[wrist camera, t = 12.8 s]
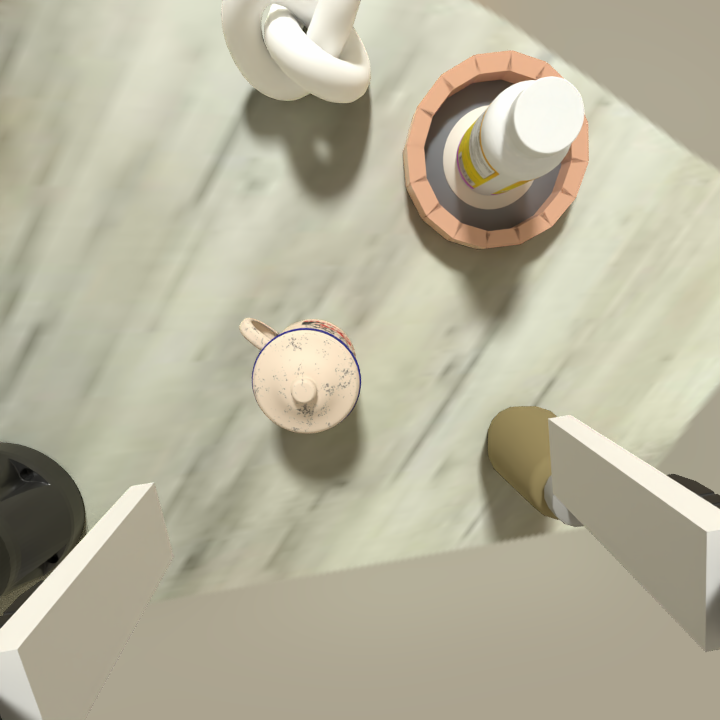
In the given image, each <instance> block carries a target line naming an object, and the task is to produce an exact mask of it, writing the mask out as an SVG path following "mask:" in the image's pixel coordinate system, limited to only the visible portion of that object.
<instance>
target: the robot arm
mask: <svg viewBox="0 0 720 720" xmlns="http://www.w3.org/2000/svg"><path fill="white" fill-rule="evenodd" d="M548 426H549V441H550V457H551V472H552V488H553V494H554V495H555V496H556V497H557V498H558V499H559V500H560V502H561V503H562V504H563V505H564V506H565V507H566V508H567V509H568V510H569V511H570V512H571V513H572V514H573V515H574V516H575V517H576V518H577V519H578V520H579V521H580V522H581V523H582V524H583V525H584V526H585V527H586V529H587V530H588V531H589V532H590V533H591V534H592V535H593V536H594V537H595V538H596V539H597V540H598V541H599V542H600V543H601V544H602V545H603V546H604V547H605V548H606V549H607V550H608V551H609V552H610V553H611V554H612V556H614V557H615V559H616V560H617V561H618V562H619V563H620V564H621V565H622V566H623V567H624V568H625V569H626V570H627V571H628V572H629V573H630V574H631V575H632V576H633V577H634V578H635V579H636V580H637V581H638V583H639V584H640V585H641V586H643V588H644V589H645V590H646V591H647V592H648V593H649V594H650V595H651V596H652V597H653V598H654V599H655V600H656V601H657V602H658V603H659V604H660V605H661V606H662V607H663V608H664V609H665V611H666V612H667V613H668V614H669V615H670V616H671V617H672V618H673V619H674V620H675V621H676V622H677V623H678V624H679V625H680V626H681V627H682V628H683V629H684V630H685V631H686V632H687V633H688V634H689V636H690V637H691V638H692V639H693V640H694V641H695V642H696V643H697V644H698V645H699V646H700V647H701V648H702V649H703V650H704V651H705V652H707V651H713V650H719V649H720V495H718V494H714V492H713V491H712V490H710V489H708V488H707V487H705V486H703V485H701V484H700V483H698V482H696V481H694V480H690V479H688V478H685V477H682V476H679V475H676V474H671V475H665V474H663V473H662V472H660V471H658V470H657V469H655V468H654V467H652V466H651V465H649V464H647V463H646V462H644V461H643V460H641V459H639V458H638V457H636V456H635V455H633V454H632V453H630V452H628V451H627V450H625V449H624V448H622V447H620V446H619V445H617V444H616V443H614V442H613V441H611V440H609V439H608V438H606V437H605V436H603V435H601V434H600V433H598V432H597V431H595V430H594V429H592V428H590V427H589V426H587V425H586V424H584V423H582V422H581V421H579V420H578V419H576V418H574V417H573V416H571V415H567V416H561V417H555V418H549V419H548ZM83 525H84V508H83V503H82V499H81V496H80V493H79V491H78V489H77V487H76V485H75V483H74V482H73V480H72V479H71V477H70V476H69V475H68V474H67V472H66V471H65V470H64V469H63V468H62V467H61V466H60V465H58V464H57V463H56V462H55V461H53V460H52V459H51V458H49V457H48V456H46V455H44V454H43V453H41V452H39V451H36V450H34V449H32V448H29V447H26V446H22V445H18V444H12V443H0V598H1V597H3V596H5V595H7V594H9V593H11V592H13V591H15V590H17V589H19V588H21V587H23V586H25V585H27V584H29V583H31V582H33V581H35V580H37V579H39V578H41V577H42V576H44V575H46V574H47V573H49V572H50V571H51V570H53V569H54V568H55V567H56V566H57V565H58V564H59V563H60V562H61V561H62V560H63V559H64V558H65V557H66V556H67V557H66V558H65V559H64V560H63V561H62V562H61V563H60V564H59V565H58V566H57V567H56V569H55V570H54V571H53V572H52V573H51V574H50V575H49V576H48V577H47V578H46V579H45V580H42V581H40V582H38V583H37V584H35V585H34V586H33V587H31V588H30V589H29V590H27V591H26V592H24V593H23V594H22V595H20V596H19V597H18V598H17V599H16V600H15V601H14V602H13V603H12V604H11V605H10V606H9V608H8V609H7V610H6V611H5V612H4V615H3V616H0V720H85V719H86V717H87V715H88V713H89V711H90V709H91V708H92V706H93V704H94V702H95V700H96V698H97V697H98V695H99V693H100V691H101V689H102V688H103V686H104V684H105V682H106V680H107V678H108V677H109V675H110V672H111V671H112V669H113V667H114V665H115V664H116V662H117V660H118V658H119V656H120V654H121V653H122V651H123V649H124V647H125V645H126V643H127V642H128V640H129V638H130V636H131V634H132V633H133V631H134V629H135V627H136V625H137V623H138V621H139V620H140V618H141V616H142V614H143V612H144V610H145V609H146V607H147V605H148V603H149V601H150V599H151V598H152V596H153V594H154V592H155V590H156V588H157V587H158V585H159V583H160V581H161V579H162V577H163V576H164V574H165V572H166V570H167V568H168V566H169V565H170V563H171V561H172V559H173V557H174V555H173V551H172V548H171V544H170V540H169V536H168V532H167V529H166V525H165V521H164V517H163V513H162V510H161V506H160V502H159V498H158V494H157V491H156V487H155V483H154V482H153V483H147V484H141V485H135V486H130V488H129V489H128V490H127V491H126V492H125V493H124V494H123V495H122V496H121V497H120V499H119V500H118V501H117V502H116V503H115V504H114V505H113V506H112V507H111V508H110V509H109V511H108V512H107V513H106V514H105V515H104V516H103V517H102V518H101V519H100V520H99V521H98V523H97V524H96V525H95V526H94V527H93V528H92V529H91V530H90V531H89V532H88V534H87V535H86V536H85V537H84V538H83V539H82V540H81V541H80V542H79V543H78V544H77V542H78V540H79V538H80V536H81V533H82V530H83ZM76 544H77V546H76V547H75V545H76ZM74 547H75V548H74ZM73 548H74V549H73Z"/></svg>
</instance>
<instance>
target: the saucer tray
mask: <svg viewBox="0 0 720 720" xmlns="http://www.w3.org/2000/svg"><path fill="white" fill-rule="evenodd" d="M551 76H553V77H560V78H563V77H562V76H561V75H560V74H559V73H558V72H557V71H556V70H555V69H553V68H552V67H551V66H550V65H549V64H548V63H546V62H545V61H542V60H539V59H536V58H533V57H530V56H527V55H524V54H521V53H518V52H515V51H512V52H511V50H510V51H502V52H494V53H485V54H477V55H475V56H474V55H473V56H472V57H470V58H468V59H467V60H465V61H463V62H462V63H460V64H458V65H457V66H455V67H453V68H452V69H450V70H448V71H447V72H445V73H443V74H442V75H441V76H440V77H439V78H438V80H437V81H436V82H435V84H434V85H433V86H432V88H431V89H430V90H429V92H428V93H427V94H426V96H425V97H424V98H423V100H422V101H421V103H420V104H419V105H418V107H417V109H416V111H415V113H414V115H413V118H412V121H411V125H410V128H409V132H408V135H407V139H406V143H405V146H404V150H403V161H404V172H405V183H406V188H407V191H408V193H409V195H410V197H411V199H412V201H413V203H414V205H415V207H416V209H417V211H418V213H419V215H420V217H421V219H422V218H423V219H422V220H423V221H425V222H426V223H427V224H428V225H429V226H430V227H432V228H433V229H434V230H435V231H436V232H438V233H439V234H440V235H441V236H442V237H443V238H445V239H446V240H448V241H451V242H454V243H458V244H461V245H465V246H468V247H471V248H475V249H486V248H494V247H502V246H510V245H518V244H522V243H524V242H525V241H527V240H529V239H531V238H533V237H534V236H536V235H538V234H540V233H541V232H543V231H545V230H547V229H549V228H550V227H551V226H553V225H554V224H555V222H556V221H557V220H558V219H559V218H560V216H561V215H562V214H563V213H564V211H565V210H566V209H567V208H568V207H569V205H570V204H571V203H572V202H573V201H574V199H575V198H576V196H577V193H578V190H579V188H580V185H581V182H582V179H583V176H584V173H585V171H586V168H587V165H588V161H589V148H588V124H586V123H588V121H587V119H586V117H585V114H584V121H583V125H582V128H581V130H580V132H579V134H578V136H577V137H576V139H575V140H574V141H573V142H572V143H571V146H570V148H569V150H568V152H567V154H566V156H565V157H564V159H563V160H562V161H561V162H560V163H559V165H558V166H556V167H555V168H554V169H553V170H551V171H550V172H548V173H547V174H545V175H543V176H541V177H539V178H536V179H534V180H532V181H529V182H527V183H525V184H523V185H521V186H518V187H516V188H514V189H512V190H510V191H507V192H505V193H502V194H499V195H493V196H487V195H481V194H478V193H476V192H474V191H472V190H471V189H469V188H468V187H467V186H466V185H465V184H464V182H463V181H462V179H461V178H460V176H459V173H458V170H457V166H456V153H457V148H458V145H459V142H460V140H461V138H462V136H463V135H464V133H465V132H466V131H467V130H468V128H469V127H470V126H471V125H472V124H473V123H474V122H475V121H476V120H477V118H478V117H479V116H480V115H481V114H482V113H483V112H484V111H485V110H486V108H487V107H488V106H489V105H490V104H491V103H492V102H493V100H494V99H495V98H496V97H497V96H498V95H499V94H500V93H501V92H503V91H504V90H505V89H507V88H508V87H510V86H512V85H514V84H516V83H519V82H523V81H528V80H538V79H540V78H544V77H551ZM563 79H564V78H563Z"/></svg>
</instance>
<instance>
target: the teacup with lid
mask: <svg viewBox="0 0 720 720" xmlns="http://www.w3.org/2000/svg"><path fill="white" fill-rule="evenodd" d="M239 329H240V332H241V333H242V335H243V336H244V337H245V338H246V339H247V340H248V341H249V342H250V343H252V344H253V345H254V346H255V347H257V348H258V349H259V350H261V352H260V353H259V355H258V357H257V359H256V361H255V364H254V367H253V372H252V388H253V392H254V396H255V399H256V401H257V403H258V405H259V407H260V408H261V410H262V411H263V413H264V414H265V415H266V416H267V417H268V418H269V419H270V420H271V421H272V422H274V423H275V424H277V425H278V426H280V427H282V428H284V429H286V430H289V431H292V432H296V433H306V434H309V433H318V432H322V431H325V430H328V429H330V428H332V427H334V426H336V425H337V424H339V423H340V422H342V421H343V420H344V419H345V418H346V417H347V416H348V415H349V414H350V412H351V411H352V410H353V408H354V406H355V404H356V402H357V400H358V397H359V394H360V388H361V374H360V369H359V365H358V363H357V360H356V355H355V351H354V348H353V345H352V343H351V341H350V339H349V338H348V337H347V335H346V334H345V333H344V332H343V331H342V330H341V329H340V328H338V327H337V326H335V325H333V324H331V323H329V322H326V321H323V320H317V319H308V320H302V321H299V322H296V323H294V324H292V325H290V326H288V327H287V328H286V329H284V330H283V331H282V332H281V333H280V334H279V333H278V332H276V331H275V330H273V329H272V328H271V327H269V326H268V325H266V324H264V323H263V322H261V321H259V320H256V319H253V318H246V319H244V320H243V321H242V323H241V324H240V326H239Z"/></svg>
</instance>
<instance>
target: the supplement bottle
mask: <svg viewBox="0 0 720 720" xmlns="http://www.w3.org/2000/svg"><path fill="white" fill-rule="evenodd" d="M583 121H584V104H583V100H582V97H581V95H580V93H579V91H578V90H577V89H576V87H575V86H574V85H573V84H572V83H570V82H569V81H567V80H565V79H563V78H560V77H553V76H551V77H544V78H540V79H538V80H528V81H523V82H519V83H516V84H514V85H512V86H510V87H508V88H507V89H505V90H504V91H503V92H501V93H500V94H499V95H498V96H497V97H496V98H495V99H494V100H493V102H492V103H491V104H490V105H489V106H488V107H487V108H486V110H485V111H484V112H483V113H482V114H481V115H480V116H479V117H478V118H477V120H476V121H475V122H474V123H473V124H472V125H471V126H470V127H469V128H468V130H467V131H466V132H465V133H464V135H463V136H462V138H461V140H460V142H459V145H458V148H457V153H456V166H457V170H458V173H459V176H460V178H461V179H462V181H463V182H464V184H465V185H466V186H467V187H468V188H469V189H471V190H472V191H474V192H476V193H478V194H481V195H487V196H493V195H499V194H502V193H505V192H507V191H510V190H512V189H514V188H516V187H518V186H521V185H523V184H525V183H527V182H529V181H532V180H534V179H536V178H539V177H541V176H543V175H545V174H547V173H548V172H550V171H551V170H553V169H554V168H555V167H556V166H558V165H559V163H560V162H561V161H562V160H563V159H564V157H565V156H566V154H567V152H568V150H569V148H570V146H571V143H572V142H573V141H574V140H575V139H576V137H577V136H578V134H579V132H580V130H581V128H582V125H583Z"/></svg>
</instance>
